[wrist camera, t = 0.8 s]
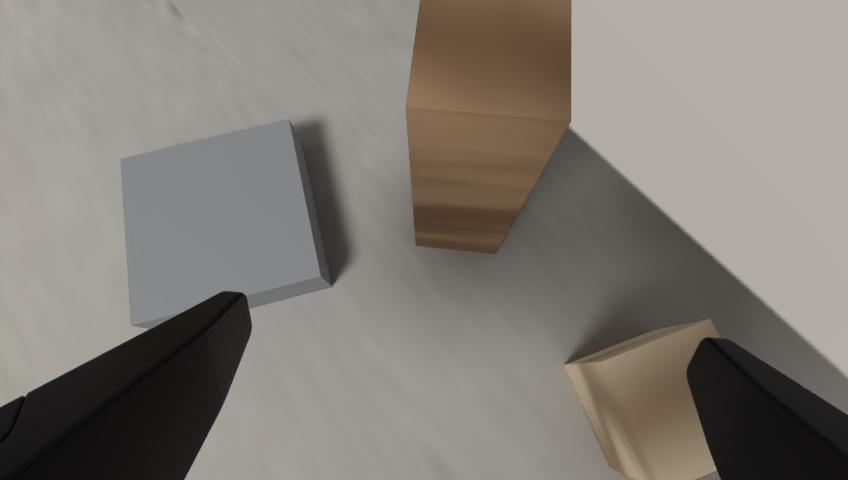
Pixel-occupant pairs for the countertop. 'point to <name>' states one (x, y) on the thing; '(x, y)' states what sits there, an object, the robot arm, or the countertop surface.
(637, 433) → the maple cube
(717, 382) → the robot arm
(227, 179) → the grey base block
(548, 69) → the walnut block
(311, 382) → the countertop surface
